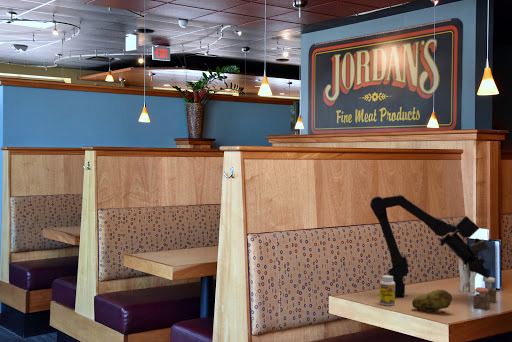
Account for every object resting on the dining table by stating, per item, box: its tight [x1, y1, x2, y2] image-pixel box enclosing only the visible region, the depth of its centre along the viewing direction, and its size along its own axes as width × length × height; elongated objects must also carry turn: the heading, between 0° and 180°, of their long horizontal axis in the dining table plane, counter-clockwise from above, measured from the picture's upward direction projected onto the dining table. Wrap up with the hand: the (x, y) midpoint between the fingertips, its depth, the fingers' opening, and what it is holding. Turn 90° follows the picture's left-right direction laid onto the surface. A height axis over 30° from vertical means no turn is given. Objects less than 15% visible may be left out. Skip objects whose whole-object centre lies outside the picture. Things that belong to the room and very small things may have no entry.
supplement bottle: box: [378, 274, 396, 306], centre depth 227 cm, size 6×6×10 cm
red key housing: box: [473, 293, 491, 311], centre depth 223 cm, size 5×5×4 cm
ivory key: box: [482, 276, 496, 290], centre depth 234 cm, size 4×4×5 cm
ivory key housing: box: [485, 287, 497, 304], centre depth 234 cm, size 5×5×4 cm
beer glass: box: [458, 256, 477, 294], centre depth 251 cm, size 7×7×15 cm
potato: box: [411, 289, 453, 312], centre depth 217 cm, size 8×13×8 cm, turn 47°
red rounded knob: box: [475, 286, 488, 297], centre depth 223 cm, size 4×4×5 cm
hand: (488, 277), depth 234 cm, fingers closed
